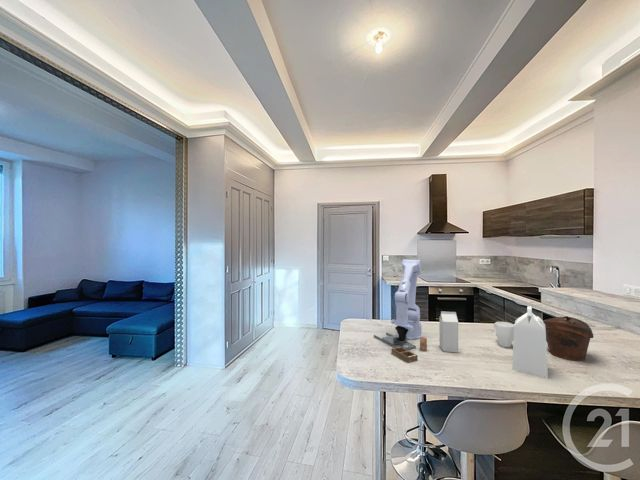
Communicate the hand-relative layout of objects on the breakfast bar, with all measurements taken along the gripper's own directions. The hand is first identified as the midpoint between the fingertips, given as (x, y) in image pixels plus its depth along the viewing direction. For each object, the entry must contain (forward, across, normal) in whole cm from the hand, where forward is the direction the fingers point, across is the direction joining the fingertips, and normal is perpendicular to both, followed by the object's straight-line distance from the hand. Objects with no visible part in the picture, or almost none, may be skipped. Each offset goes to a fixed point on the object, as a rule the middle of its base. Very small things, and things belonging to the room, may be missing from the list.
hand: (402, 340), depth 139 cm
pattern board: (+3, -6, 0) cm, 7 cm away
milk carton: (+3, +13, +18) cm, 23 cm away
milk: (+3, +42, +32) cm, 53 cm away
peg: (+3, +8, +6) cm, 11 cm away
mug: (+3, +21, +49) cm, 54 cm away
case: (+3, +42, +63) cm, 76 cm away
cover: (+2, -6, 0) cm, 6 cm away
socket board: (+3, +10, -8) cm, 13 cm away
